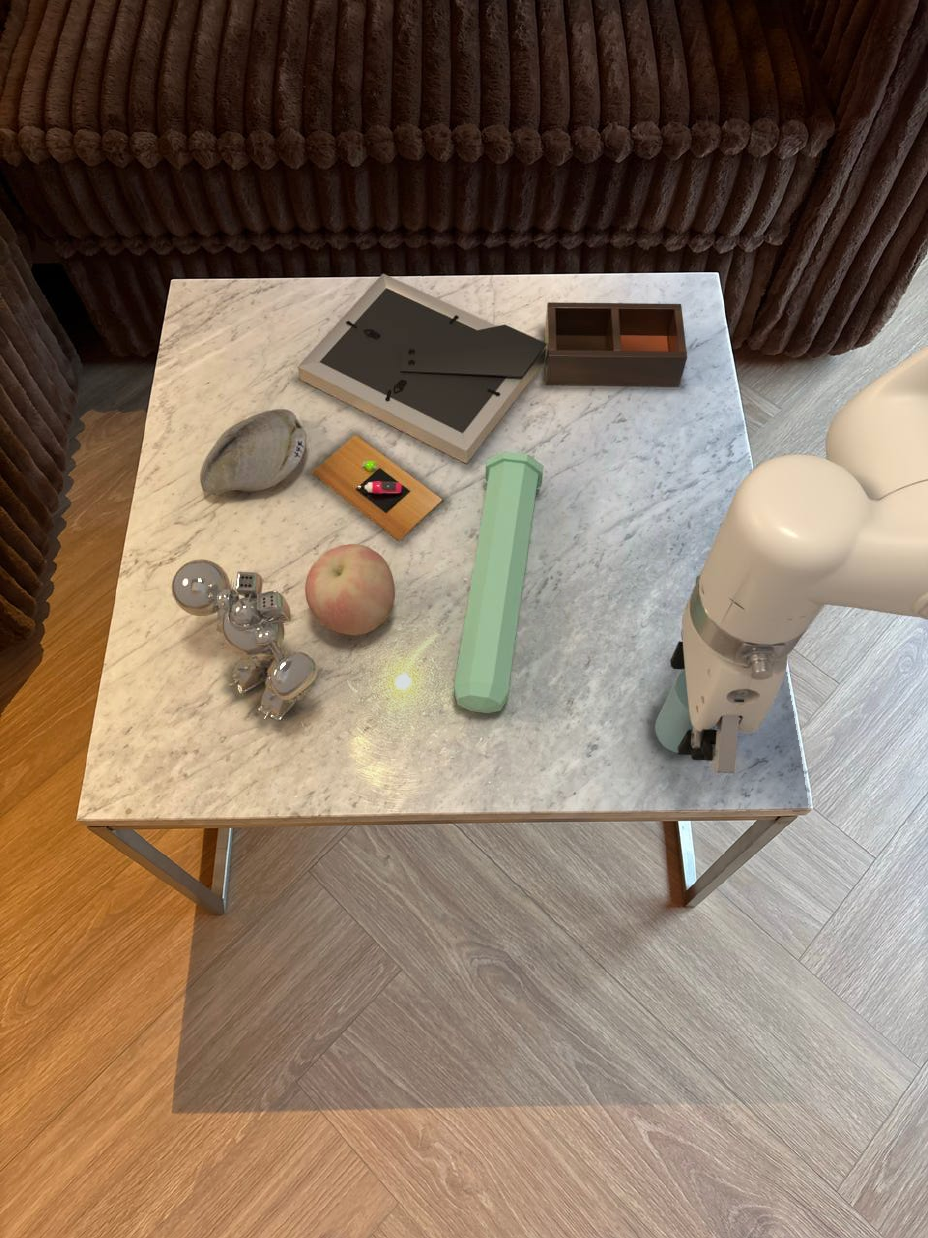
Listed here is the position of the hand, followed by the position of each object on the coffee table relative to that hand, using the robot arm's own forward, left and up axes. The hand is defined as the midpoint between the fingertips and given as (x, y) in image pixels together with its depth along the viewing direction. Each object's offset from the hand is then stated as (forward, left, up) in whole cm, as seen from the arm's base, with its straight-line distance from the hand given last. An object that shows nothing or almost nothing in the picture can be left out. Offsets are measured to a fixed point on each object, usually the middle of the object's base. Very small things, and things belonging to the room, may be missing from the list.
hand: (693, 707), depth 77 cm
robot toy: (+37, -5, -5) cm, 38 cm away
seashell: (+40, -27, -5) cm, 49 cm away
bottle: (0, 0, -5) cm, 5 cm away
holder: (+4, -42, -5) cm, 43 cm away
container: (+16, -13, -5) cm, 21 cm away
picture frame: (+24, -40, -5) cm, 47 cm away
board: (+28, -25, -5) cm, 38 cm away
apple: (+29, -11, -5) cm, 31 cm away
